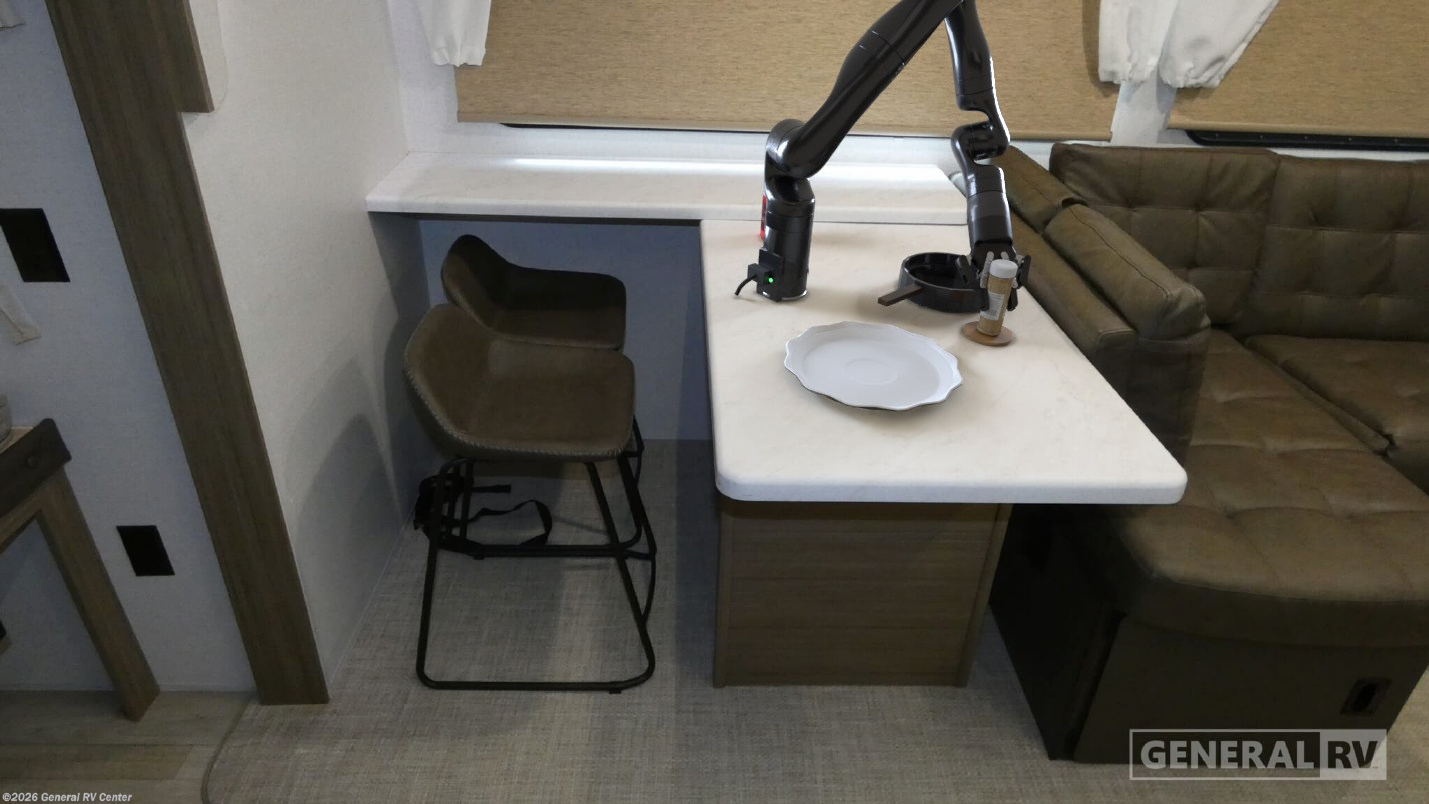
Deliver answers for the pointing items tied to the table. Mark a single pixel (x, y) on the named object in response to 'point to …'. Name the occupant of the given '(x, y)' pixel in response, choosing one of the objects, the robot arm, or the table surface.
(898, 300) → the pan handle
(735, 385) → the table surface
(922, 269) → the pan
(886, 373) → the plate
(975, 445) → the table surface
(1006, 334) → the coaster
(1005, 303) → the sprinkles bottle
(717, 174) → the table surface
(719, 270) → the table surface
